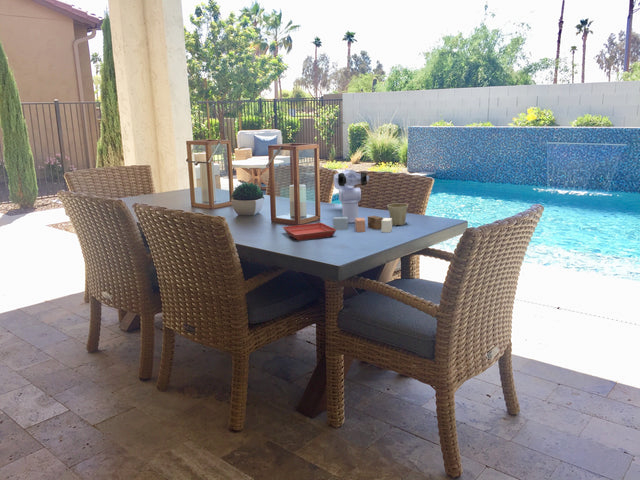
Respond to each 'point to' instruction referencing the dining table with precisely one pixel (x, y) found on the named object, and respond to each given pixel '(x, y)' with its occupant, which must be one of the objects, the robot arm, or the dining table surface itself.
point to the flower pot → (398, 213)
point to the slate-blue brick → (340, 223)
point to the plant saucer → (310, 231)
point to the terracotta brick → (360, 224)
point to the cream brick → (386, 224)
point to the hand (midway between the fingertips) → (354, 179)
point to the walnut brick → (375, 222)
